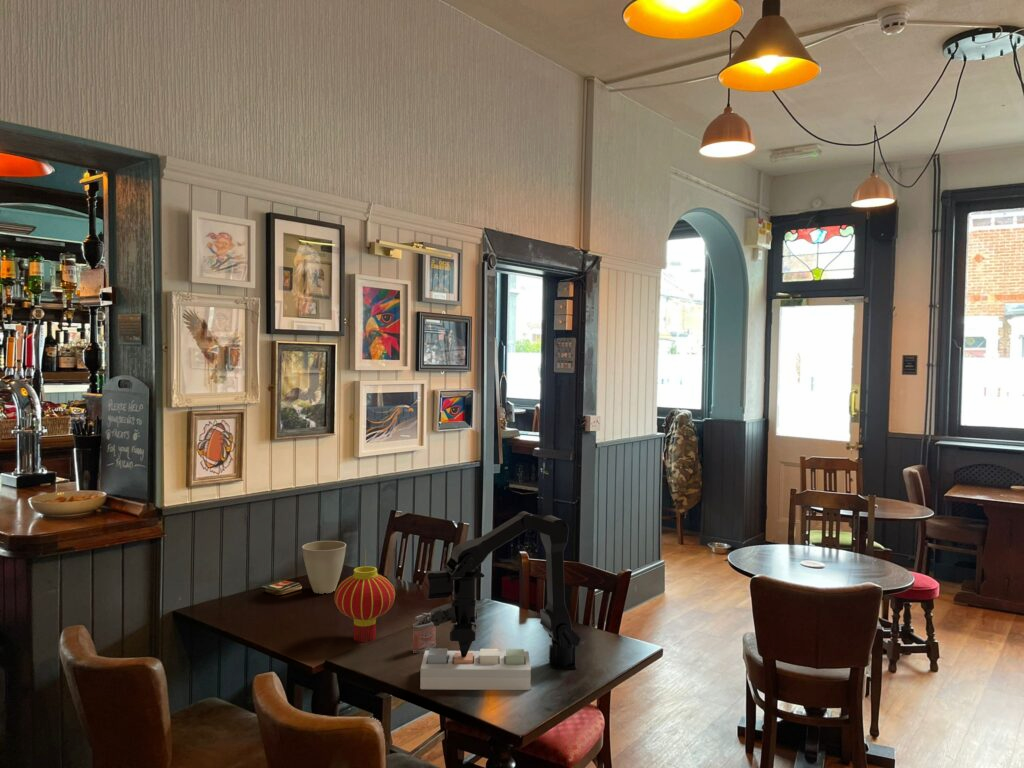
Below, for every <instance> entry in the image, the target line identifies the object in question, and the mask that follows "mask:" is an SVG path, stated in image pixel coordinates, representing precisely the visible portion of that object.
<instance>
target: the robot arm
mask: <svg viewBox="0 0 1024 768" xmlns="http://www.w3.org/2000/svg"><path fill="white" fill-rule="evenodd" d="M527 530H531V531H535V532H538V533H539V535H540V540H541V542H542V544H543V547H544V550H545V566H546V569H545V570H546V571H545V572H546V592H547V593H546V595H547V596H546V597H547V603H546V606H545V608H541V609H539V613H540V621H539V624H541V625H542V629H543V630H544V631H545V632H546V633H547V634H548V635H547V636H548V638H550V639H551V644H549V645H548V662H549V664H550V666H551V669H563V670H565V669H570V670H572V669H573V670H575V669H577V665H576V664H577V663H576V652H577V651H576V650H577V649H576V648H577V647H578V646H579V644H580V641H581V637H580V636H579V635H578V634H577V633H576V632H575V631H574V630H573V625H572V619H571V616H570V613H569V611H568V608H567V605H566V596H565V595H566V593H565V567H564V565H565V563H564V562H565V561H564V559H565V558H564V551H565V548H566V546H567V544H568V541H569V540H568V539H569V533H570V532H569V531H570V528H569V525H568V523H566V521H564V520H563V519H561V518H558V517H557V516H553V515H551V514H549V515H545V516H541V515H537V514H533V513H529V512H528V511H520V512H518V513H517V515H515V516H514V517H512V518H510V519H508V520H507V521H505V522H503V523H502V524H500V525H498V526H497V527H495V528H494V529H492V530H490V531H488V532H487V533H486V534H484V535H482V536H481V537H477V538H472V539H468V540H466V541H463V542H460V543H458V544H456V545H455V546H454V547H453V548H452V550H451V554H450V555H451V556H450V557H449V558H448V560H447V562H446V563H445V564H444V566H443V567H442V570H427V571H425V576H424V578H423V582H422V592H423V597H424V599H425V600H427V601H428V600H438V599H446V598H448V599H449V598H450V596H452V595H453V596H452V599H451V602H450V603H446V604H443V605H440V606H436V607H434V608H432V609H431V610H430V612H429V613H430V616H431V618H432V620H431V621H432V622H433V624H434V626H436V627H438V626H440V625H442V624H445V623H447V622H450V624H453V625H452V626H451V627H450V630H449V641H451V642H458V645H459V651H460V652H461V656H462V657H466V655H467V653H468V651H470V647H471V646H472V643H473V642H475V641H476V638H477V635H476V634H477V625H476V624H475V623H476V620H478V609H477V606H476V604H477V579H481V578H485V574H484V573H483V572H481V571H480V569H479V568H478V567H479V566H480V565H481V564H482V563H483V562H484V561H485V560H486V559H487V558H488V556H489V555H490V554H491V553H492V552H494V551H496V549H499V548H500V547H502V546H503V545H505V544H506V543H508V542H510V541H512V540H513V539H515V538H516V537H518V536H519V535H521V534H523V533H525V532H526V531H527Z"/></svg>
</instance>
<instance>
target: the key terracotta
mask: <svg viewBox="0 0 1024 768" xmlns="http://www.w3.org/2000/svg"><path fill="white" fill-rule="evenodd" d="M454 664H473V653H467V655H466V657H462V656H461V653H455V656H454Z"/></svg>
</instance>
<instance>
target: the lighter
mask: <svg viewBox="0 0 1024 768" xmlns="http://www.w3.org/2000/svg"><path fill="white" fill-rule="evenodd" d="M430 613H431V612H428V613H427V612H423V613H422V614H420V615H417V616H415V618H414V619H415V620H414V622H416V623H413V624H412V629H413V630H412V634H413V635H412V636H413V637H412V638H413V639H412V649H411V650H412V651H413V652H414V653H420V654H422V653H421V652H423V653H425V650H429V649H430V648H434V647H435V648H436V647H437V643H436V638H437V637H436V627H437V626H434V624H433V622H432V621H431V620H432V618H431V616H430ZM414 653H413V654H414Z"/></svg>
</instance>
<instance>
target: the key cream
mask: <svg viewBox="0 0 1024 768" xmlns="http://www.w3.org/2000/svg"><path fill="white" fill-rule="evenodd" d="M479 651H480V664H498V651H499V648H480V650H479Z"/></svg>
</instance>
